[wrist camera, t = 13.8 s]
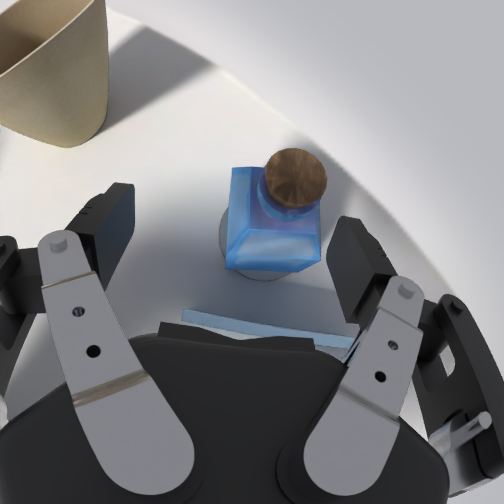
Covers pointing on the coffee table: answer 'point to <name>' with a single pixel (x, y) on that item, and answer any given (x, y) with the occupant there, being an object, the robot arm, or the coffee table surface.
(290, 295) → the coffee table surface
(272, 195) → the perfume bottle
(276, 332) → the acrylic wall
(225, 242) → the felt coaster
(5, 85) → the plant pot
